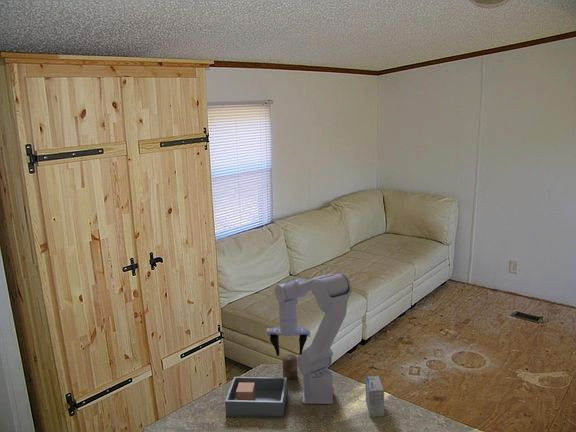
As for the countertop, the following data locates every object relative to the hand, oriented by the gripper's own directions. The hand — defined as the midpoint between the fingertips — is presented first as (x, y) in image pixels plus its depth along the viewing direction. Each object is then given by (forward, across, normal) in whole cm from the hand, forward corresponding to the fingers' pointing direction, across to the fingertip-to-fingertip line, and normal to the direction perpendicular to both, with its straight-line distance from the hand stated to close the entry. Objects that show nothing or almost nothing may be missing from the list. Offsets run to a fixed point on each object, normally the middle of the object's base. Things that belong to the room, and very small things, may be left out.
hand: (289, 354), depth 155 cm
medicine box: (+8, -27, +17) cm, 33 cm away
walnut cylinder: (+8, 0, 0) cm, 8 cm away
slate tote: (+8, +9, +16) cm, 20 cm away
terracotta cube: (+8, +12, +16) cm, 21 cm away
